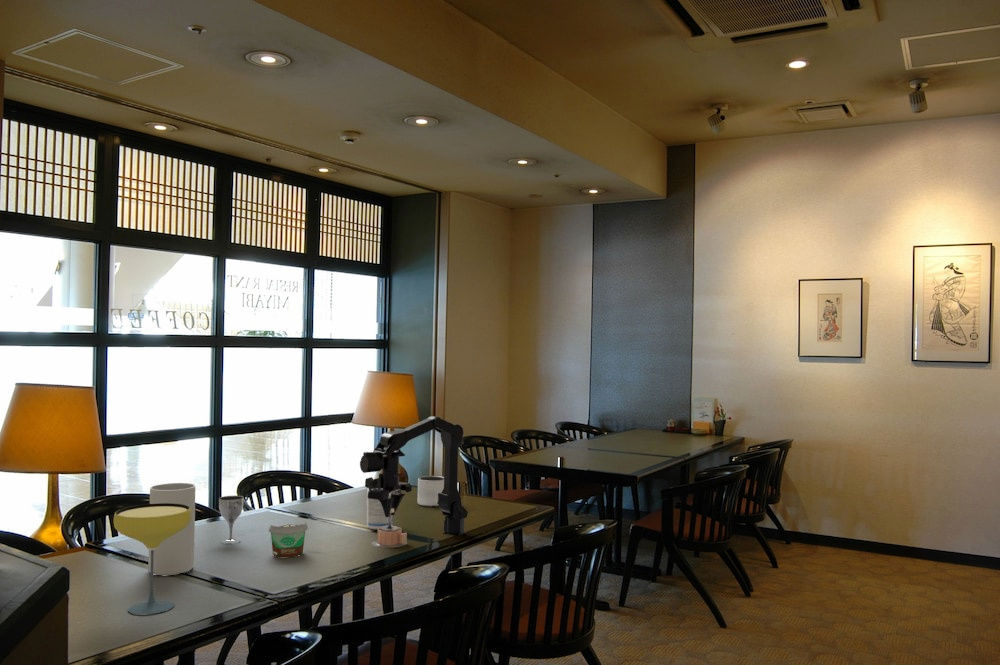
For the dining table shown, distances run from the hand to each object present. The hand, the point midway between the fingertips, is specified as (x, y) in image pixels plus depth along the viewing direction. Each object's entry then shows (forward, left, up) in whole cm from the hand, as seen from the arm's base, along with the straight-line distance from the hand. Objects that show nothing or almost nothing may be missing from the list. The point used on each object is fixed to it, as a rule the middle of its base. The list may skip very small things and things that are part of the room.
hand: (389, 516), depth 266 cm
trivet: (0, 0, -10) cm, 10 cm away
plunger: (0, 0, -5) cm, 5 cm away
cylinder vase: (+40, +56, -10) cm, 70 cm away
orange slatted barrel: (0, 0, -9) cm, 9 cm away
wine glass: (+50, +22, -10) cm, 56 cm away
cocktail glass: (+18, +82, -10) cm, 85 cm away
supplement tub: (+17, -19, -10) cm, 27 cm away
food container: (+20, +27, -10) cm, 35 cm away
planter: (+22, -66, -10) cm, 70 cm away
